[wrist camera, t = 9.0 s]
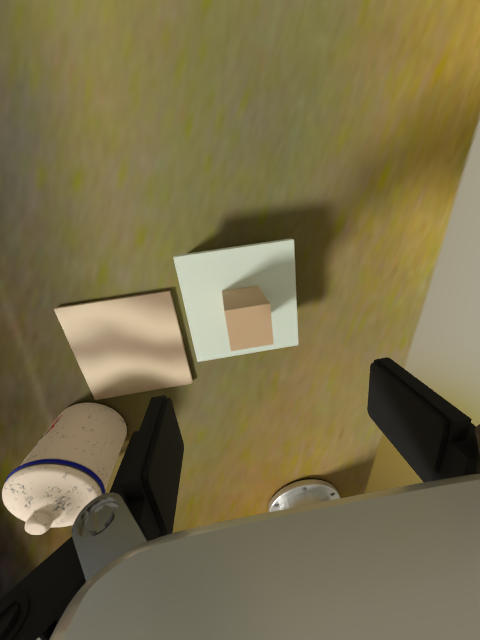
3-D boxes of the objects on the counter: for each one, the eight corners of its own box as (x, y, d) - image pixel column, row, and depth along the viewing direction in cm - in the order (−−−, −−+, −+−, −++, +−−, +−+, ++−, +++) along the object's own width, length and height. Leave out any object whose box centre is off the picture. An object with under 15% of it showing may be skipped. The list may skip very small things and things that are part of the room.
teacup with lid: (51, 397, 30) (-38, 495, 19) (129, 401, 32) (87, 495, 21) (61, 466, 34) (-7, 578, 24) (130, 467, 36) (95, 573, 25)
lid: (294, 339, 25) (318, 374, 20) (198, 355, 25) (193, 395, 19) (289, 238, 22) (317, 245, 16) (175, 255, 21) (161, 268, 15)
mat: (192, 380, 31) (192, 383, 31) (97, 396, 31) (95, 400, 30) (170, 289, 27) (169, 291, 26) (57, 307, 26) (53, 309, 26)
